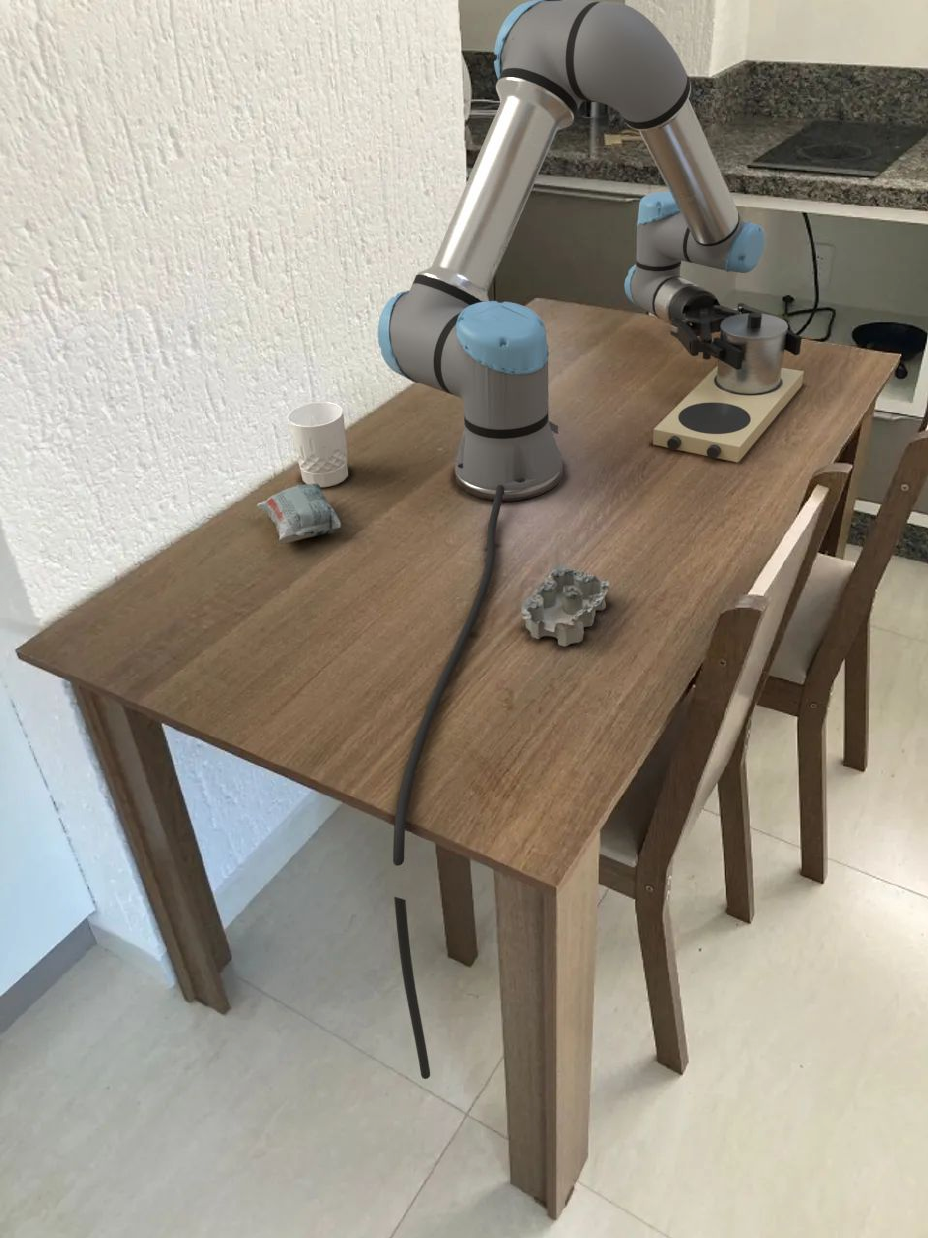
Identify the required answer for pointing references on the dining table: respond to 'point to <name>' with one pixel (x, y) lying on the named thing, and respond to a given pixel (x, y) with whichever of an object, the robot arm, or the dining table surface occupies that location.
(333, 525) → the packaged food
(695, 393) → the hot plate
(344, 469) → the white cup
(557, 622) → the egg carton
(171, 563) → the dining table surface
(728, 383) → the pot
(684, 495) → the dining table surface
